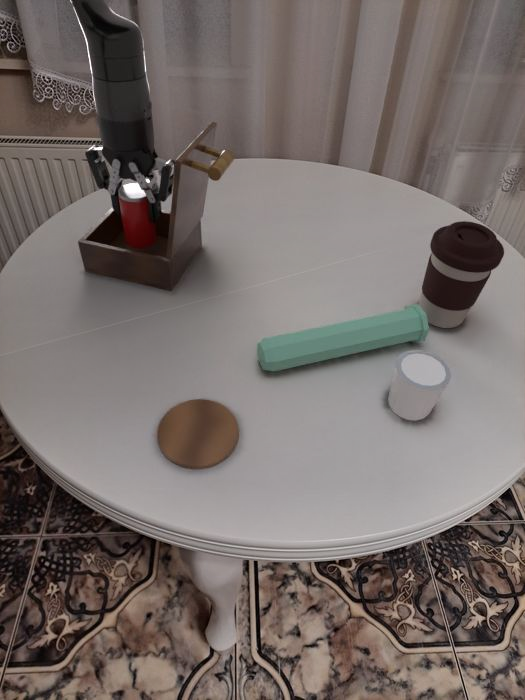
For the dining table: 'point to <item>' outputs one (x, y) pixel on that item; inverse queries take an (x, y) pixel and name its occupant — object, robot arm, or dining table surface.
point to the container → (343, 338)
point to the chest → (137, 253)
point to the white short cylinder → (417, 384)
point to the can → (136, 217)
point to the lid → (194, 185)
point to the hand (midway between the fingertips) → (138, 216)
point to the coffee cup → (458, 271)
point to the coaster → (198, 433)
